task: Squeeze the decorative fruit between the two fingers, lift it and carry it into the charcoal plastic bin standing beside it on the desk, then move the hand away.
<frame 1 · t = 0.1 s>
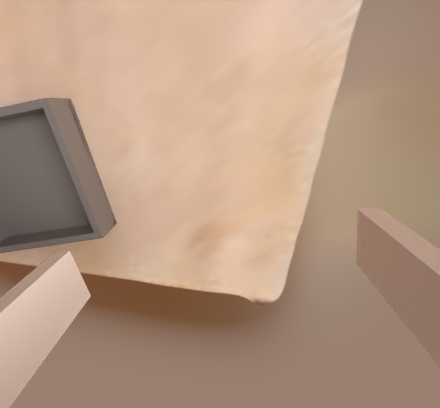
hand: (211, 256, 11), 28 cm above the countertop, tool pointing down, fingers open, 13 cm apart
bin: (37, 177, 40), on the countertop
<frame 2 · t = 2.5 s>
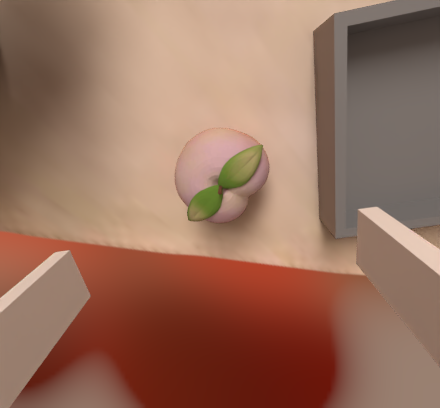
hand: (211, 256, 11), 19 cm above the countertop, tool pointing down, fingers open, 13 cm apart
bin: (412, 120, 26), on the countertop
decorative fruit: (220, 162, 29), on the countertop
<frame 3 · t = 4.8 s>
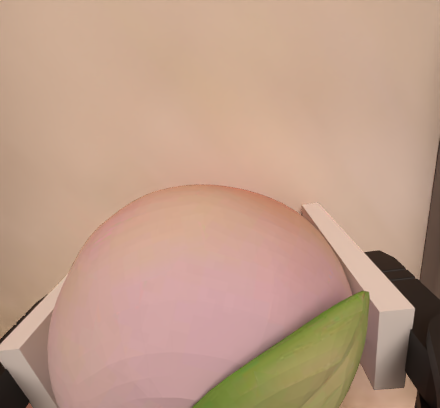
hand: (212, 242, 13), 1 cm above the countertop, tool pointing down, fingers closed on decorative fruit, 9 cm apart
decorative fruit: (207, 235, 13), on the countertop, touching gripper
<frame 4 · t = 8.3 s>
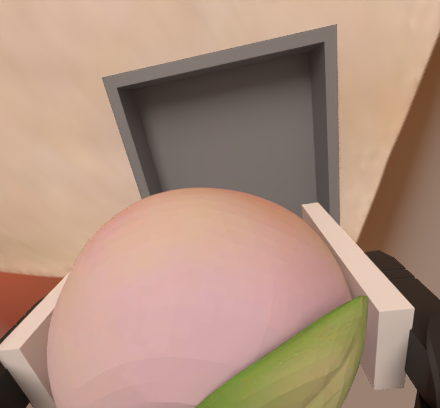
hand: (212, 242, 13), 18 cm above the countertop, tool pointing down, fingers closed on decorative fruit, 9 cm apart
bin: (232, 157, 29), on the countertop
decorative fruit: (206, 236, 13), point 17 cm above the countertop, touching gripper
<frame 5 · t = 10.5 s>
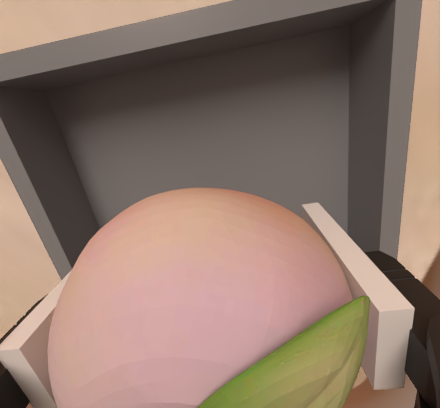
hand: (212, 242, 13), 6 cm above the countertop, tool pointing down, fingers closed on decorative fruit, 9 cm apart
bin: (217, 198, 18), on the countertop
decorative fruit: (207, 236, 13), point 6 cm above the countertop, touching gripper
when the fingers open (4 cm above the countertop, at t = 11.9 s): decorative fruit drops 3 cm, resting on bin.
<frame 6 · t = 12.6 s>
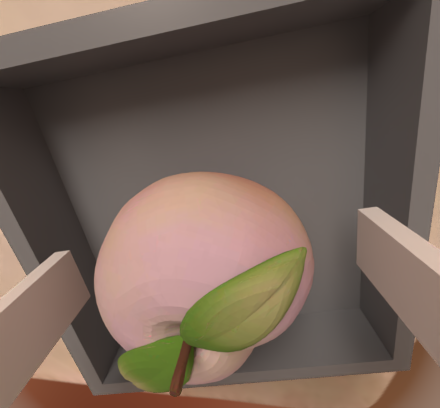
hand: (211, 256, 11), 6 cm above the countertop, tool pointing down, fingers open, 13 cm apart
bin: (217, 208, 17), on the countertop
decorative fruit: (213, 213, 16), point 1 cm above the countertop, touching bin
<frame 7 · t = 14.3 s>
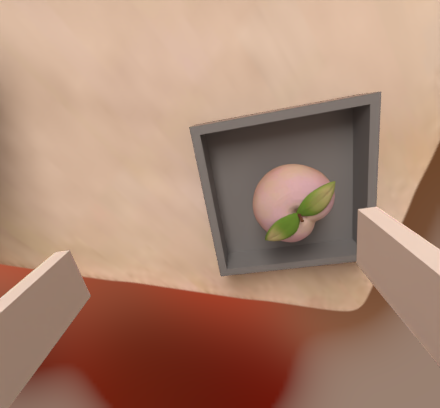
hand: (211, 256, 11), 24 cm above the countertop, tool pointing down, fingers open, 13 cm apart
bin: (281, 186, 34), on the countertop
decorative fruit: (281, 187, 33), point 1 cm above the countertop, touching bin
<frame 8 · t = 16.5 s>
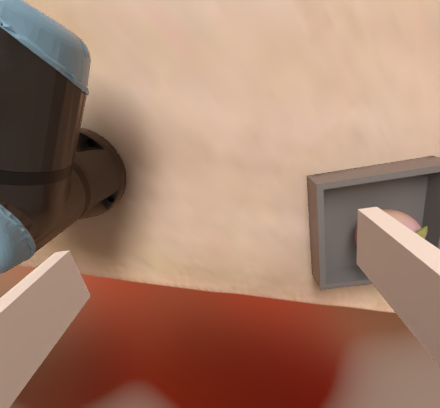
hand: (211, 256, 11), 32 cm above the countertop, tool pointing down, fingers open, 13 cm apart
bin: (366, 220, 45), on the countertop
decorative fruit: (367, 221, 44), point 1 cm above the countertop, touching bin
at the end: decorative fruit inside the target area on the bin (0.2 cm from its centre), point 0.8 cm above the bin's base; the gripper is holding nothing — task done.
